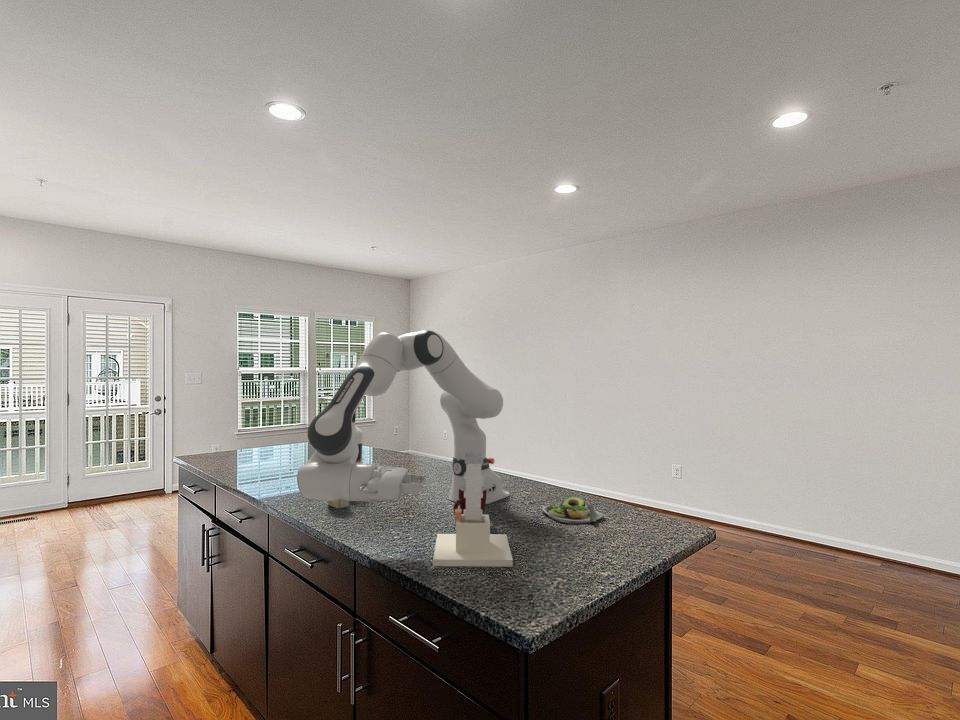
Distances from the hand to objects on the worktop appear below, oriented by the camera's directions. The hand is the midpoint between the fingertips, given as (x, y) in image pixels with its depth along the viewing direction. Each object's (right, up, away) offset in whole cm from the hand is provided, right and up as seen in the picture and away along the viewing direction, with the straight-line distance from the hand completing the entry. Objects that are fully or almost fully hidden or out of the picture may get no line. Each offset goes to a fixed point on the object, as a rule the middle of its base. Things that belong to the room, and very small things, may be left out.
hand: (423, 483), depth 123 cm
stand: (+12, -17, 0) cm, 21 cm away
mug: (+11, -17, +23) cm, 31 cm away
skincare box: (-32, -17, +40) cm, 54 cm away
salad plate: (+42, -19, +34) cm, 57 cm away
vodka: (-34, -18, +62) cm, 73 cm away
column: (+12, -17, 0) cm, 21 cm away
